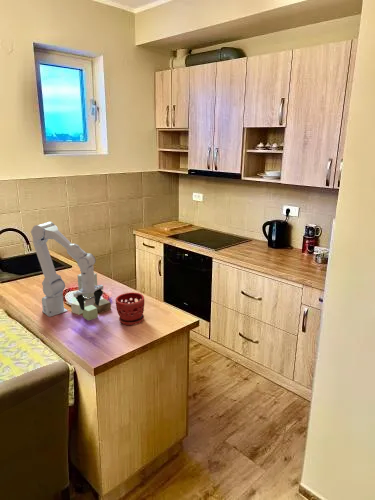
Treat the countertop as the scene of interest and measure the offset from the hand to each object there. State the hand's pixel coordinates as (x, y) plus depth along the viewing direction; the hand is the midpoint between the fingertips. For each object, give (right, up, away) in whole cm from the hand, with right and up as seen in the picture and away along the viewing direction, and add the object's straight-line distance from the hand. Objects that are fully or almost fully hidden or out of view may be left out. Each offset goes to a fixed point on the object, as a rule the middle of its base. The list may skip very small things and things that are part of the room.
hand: (89, 307), depth 172 cm
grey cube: (-7, -3, +7) cm, 11 cm away
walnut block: (+4, -3, +10) cm, 11 cm away
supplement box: (-8, +2, +25) cm, 27 cm away
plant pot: (+20, -7, -1) cm, 21 cm away
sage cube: (0, -5, +2) cm, 6 cm away
